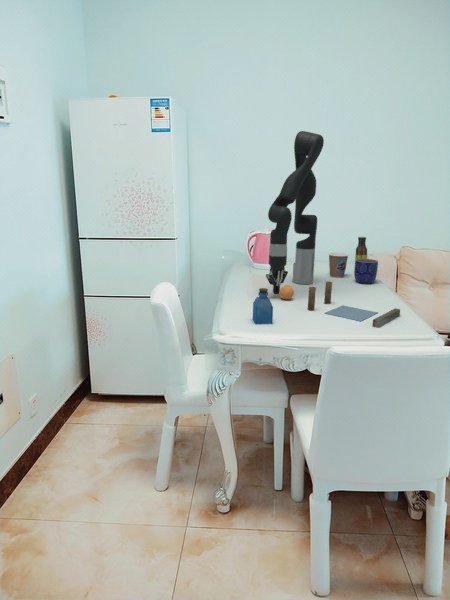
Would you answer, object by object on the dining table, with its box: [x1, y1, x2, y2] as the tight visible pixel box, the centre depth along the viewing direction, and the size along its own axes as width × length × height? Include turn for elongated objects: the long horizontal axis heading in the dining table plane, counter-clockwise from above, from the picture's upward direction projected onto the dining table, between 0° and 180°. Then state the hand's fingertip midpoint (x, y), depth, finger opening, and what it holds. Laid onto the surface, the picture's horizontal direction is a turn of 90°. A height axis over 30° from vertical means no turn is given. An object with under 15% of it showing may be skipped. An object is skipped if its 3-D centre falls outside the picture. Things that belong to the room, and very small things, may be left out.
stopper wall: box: [372, 308, 401, 329], centre depth 170 cm, size 2×20×2 cm, turn 139°
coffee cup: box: [328, 252, 349, 279], centre depth 243 cm, size 10×10×12 cm
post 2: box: [323, 281, 333, 305], centre depth 191 cm, size 3×3×9 cm
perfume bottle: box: [252, 287, 274, 325], centre depth 166 cm, size 6×6×12 cm
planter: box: [353, 258, 379, 285], centre depth 230 cm, size 11×11×11 cm
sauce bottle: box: [354, 236, 368, 261], centre depth 251 cm, size 7×6×20 cm
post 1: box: [307, 286, 317, 311], centre depth 182 cm, size 3×3×9 cm
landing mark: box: [324, 304, 379, 323], centre depth 179 cm, size 15×15×1 cm
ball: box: [279, 285, 295, 301], centre depth 197 cm, size 6×6×6 cm
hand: (276, 293), depth 200 cm, fingers closed
